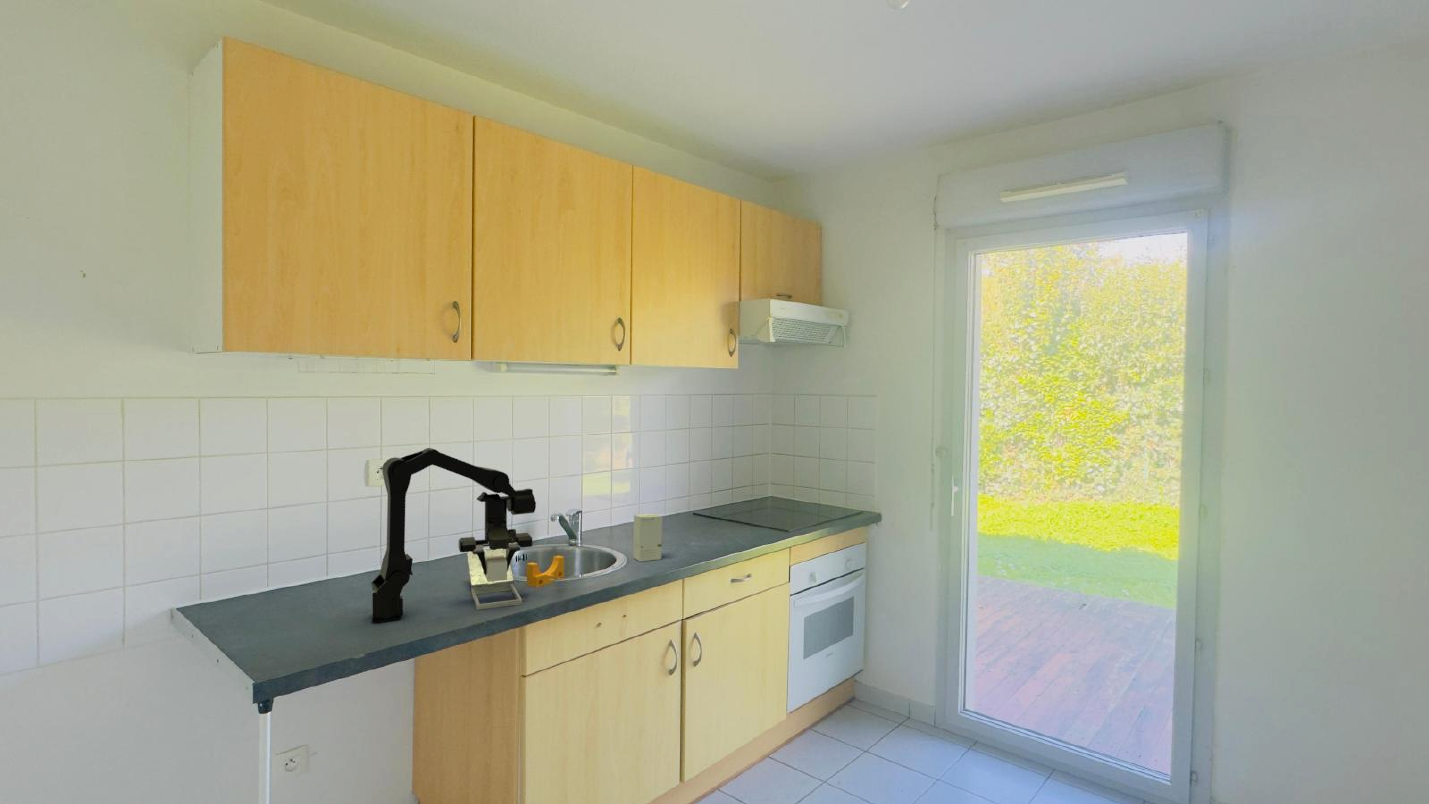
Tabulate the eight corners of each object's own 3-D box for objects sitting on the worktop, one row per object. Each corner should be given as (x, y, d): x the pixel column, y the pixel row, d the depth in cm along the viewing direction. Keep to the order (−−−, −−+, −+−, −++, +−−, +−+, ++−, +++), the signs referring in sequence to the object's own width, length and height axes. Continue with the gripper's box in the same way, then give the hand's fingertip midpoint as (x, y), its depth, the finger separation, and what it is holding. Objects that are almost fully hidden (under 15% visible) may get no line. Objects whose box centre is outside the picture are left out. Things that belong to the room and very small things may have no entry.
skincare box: (639, 562, 232) (639, 517, 231) (632, 558, 237) (632, 514, 237) (662, 559, 236) (662, 515, 235) (655, 555, 241) (655, 512, 241)
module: (487, 581, 188) (487, 562, 187) (484, 575, 194) (484, 556, 194) (507, 579, 190) (507, 560, 189) (503, 573, 196) (503, 554, 196)
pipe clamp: (536, 588, 203) (536, 566, 203) (526, 585, 205) (526, 563, 205) (568, 578, 213) (568, 557, 212) (558, 576, 215) (558, 555, 215)
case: (477, 609, 183) (476, 575, 183) (467, 581, 208) (467, 551, 208) (521, 604, 188) (521, 570, 188) (507, 577, 213) (507, 547, 212)
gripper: (462, 524, 180) (461, 585, 181) (536, 519, 188) (536, 577, 188) (458, 517, 190) (458, 574, 191) (528, 512, 198) (528, 567, 199)
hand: (495, 573), depth 192 cm, fingers closed on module, 5 cm apart
